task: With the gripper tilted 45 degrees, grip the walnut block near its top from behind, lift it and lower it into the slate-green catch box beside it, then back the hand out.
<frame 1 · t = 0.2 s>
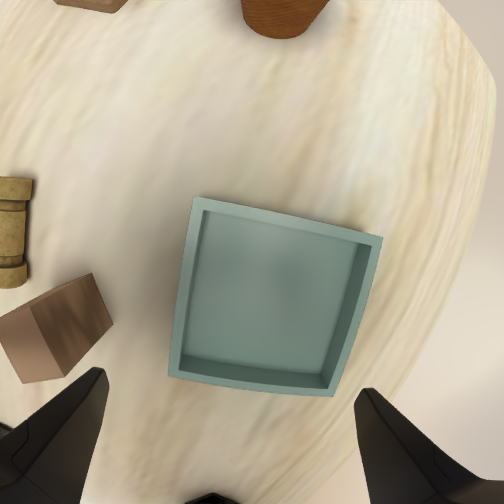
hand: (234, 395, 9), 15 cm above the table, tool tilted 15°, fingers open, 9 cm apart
catch box: (268, 298, 24), on the table
disposable coffee cup: (276, 16, 21), on the table
walnut block: (81, 306, 24), on the table
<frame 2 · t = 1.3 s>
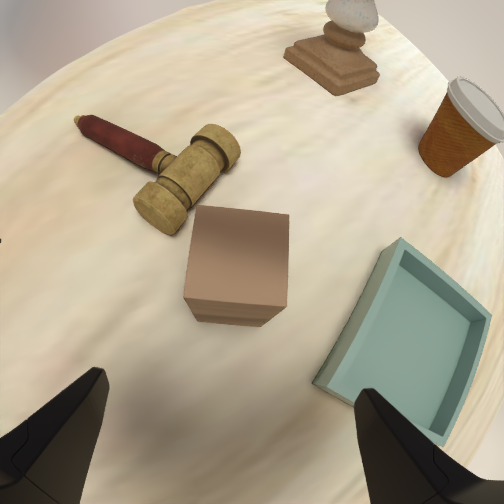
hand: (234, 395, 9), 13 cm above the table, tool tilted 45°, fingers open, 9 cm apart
catch box: (408, 350, 23), on the table
candle holder: (331, 69, 37), on the table
disposable coffee cup: (435, 159, 33), on the table
gavel: (131, 156, 28), on the table
walnut block: (231, 293, 24), on the table
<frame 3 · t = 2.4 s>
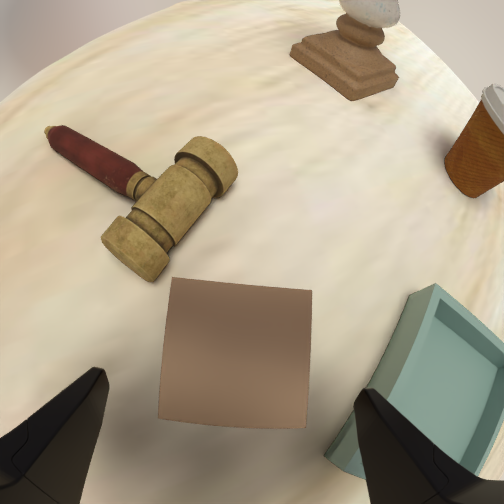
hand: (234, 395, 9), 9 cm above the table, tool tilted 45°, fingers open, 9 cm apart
catch box: (432, 407, 18), on the table
candle holder: (344, 70, 32), on the table
disposable coffee cup: (462, 176, 28), on the table
gavel: (106, 175, 23), on the table
walnut block: (228, 358, 18), on the table
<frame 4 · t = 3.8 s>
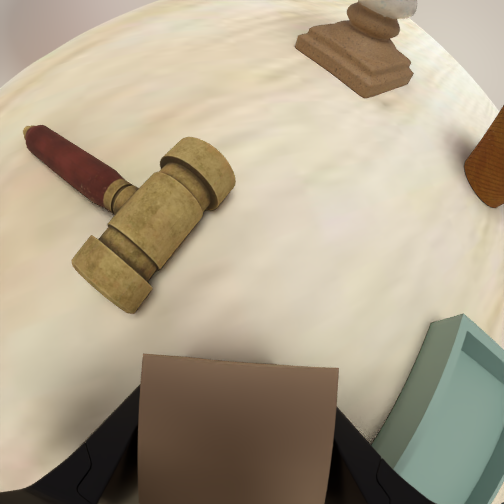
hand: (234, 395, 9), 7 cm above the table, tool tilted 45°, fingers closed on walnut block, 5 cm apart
catch box: (448, 442, 14), on the table
candle holder: (354, 64, 28), on the table
disposable coffee cup: (481, 183, 24), on the table
gavel: (86, 182, 19), on the table
walnut block: (226, 403, 15), on the table, touching gripper
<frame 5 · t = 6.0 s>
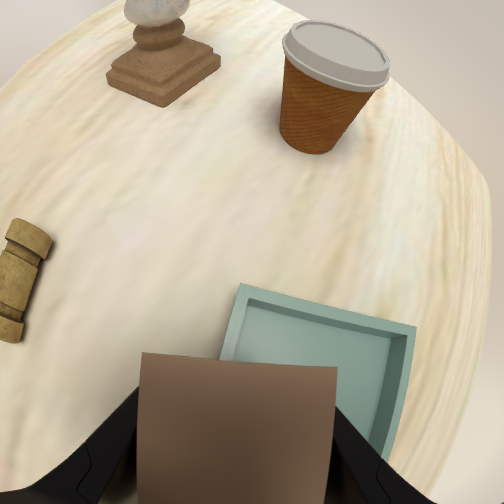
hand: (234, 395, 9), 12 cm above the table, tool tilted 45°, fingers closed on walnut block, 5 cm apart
catch box: (302, 401, 20), on the table
candle holder: (163, 74, 32), on the table
disposable coffee cup: (307, 133, 30), on the table
walnut block: (226, 403, 15), point 6 cm above the table, touching gripper
when the fingers open (9 cm above the table, at t = 8.1 s): walnut block drops 1 cm, resting on catch box.
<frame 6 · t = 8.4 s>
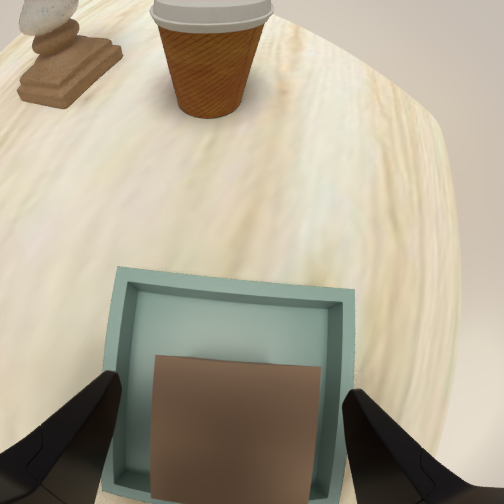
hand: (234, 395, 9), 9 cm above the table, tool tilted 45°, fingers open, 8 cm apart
catch box: (225, 397, 17), on the table
candle holder: (69, 77, 27), on the table
disposable coffee cup: (209, 99, 26), on the table
walnut block: (226, 399, 16), point 1 cm above the table, touching catch box
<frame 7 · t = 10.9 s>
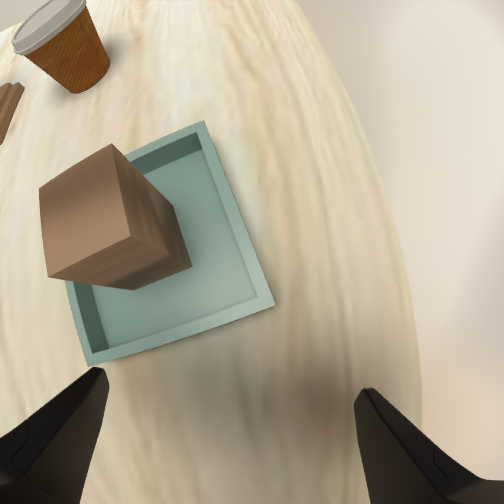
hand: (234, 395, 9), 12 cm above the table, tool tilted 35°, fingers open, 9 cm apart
catch box: (157, 250, 22), on the table
disposable coffee cup: (89, 75, 27), on the table
walnut block: (152, 247, 21), point 1 cm above the table, touching catch box
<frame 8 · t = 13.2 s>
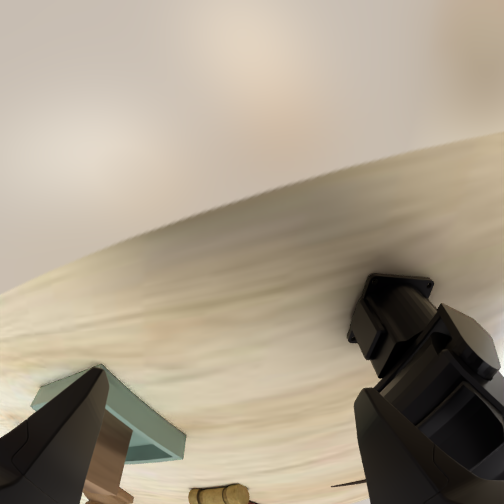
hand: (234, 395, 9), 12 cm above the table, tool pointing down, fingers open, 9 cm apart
catch box: (107, 414, 28), on the table
candle holder: (103, 485, 43), on the table
gavel: (241, 496, 42), on the table
walnut block: (105, 420, 27), point 1 cm above the table, touching catch box
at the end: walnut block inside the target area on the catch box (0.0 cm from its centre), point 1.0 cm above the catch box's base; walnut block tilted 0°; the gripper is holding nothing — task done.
